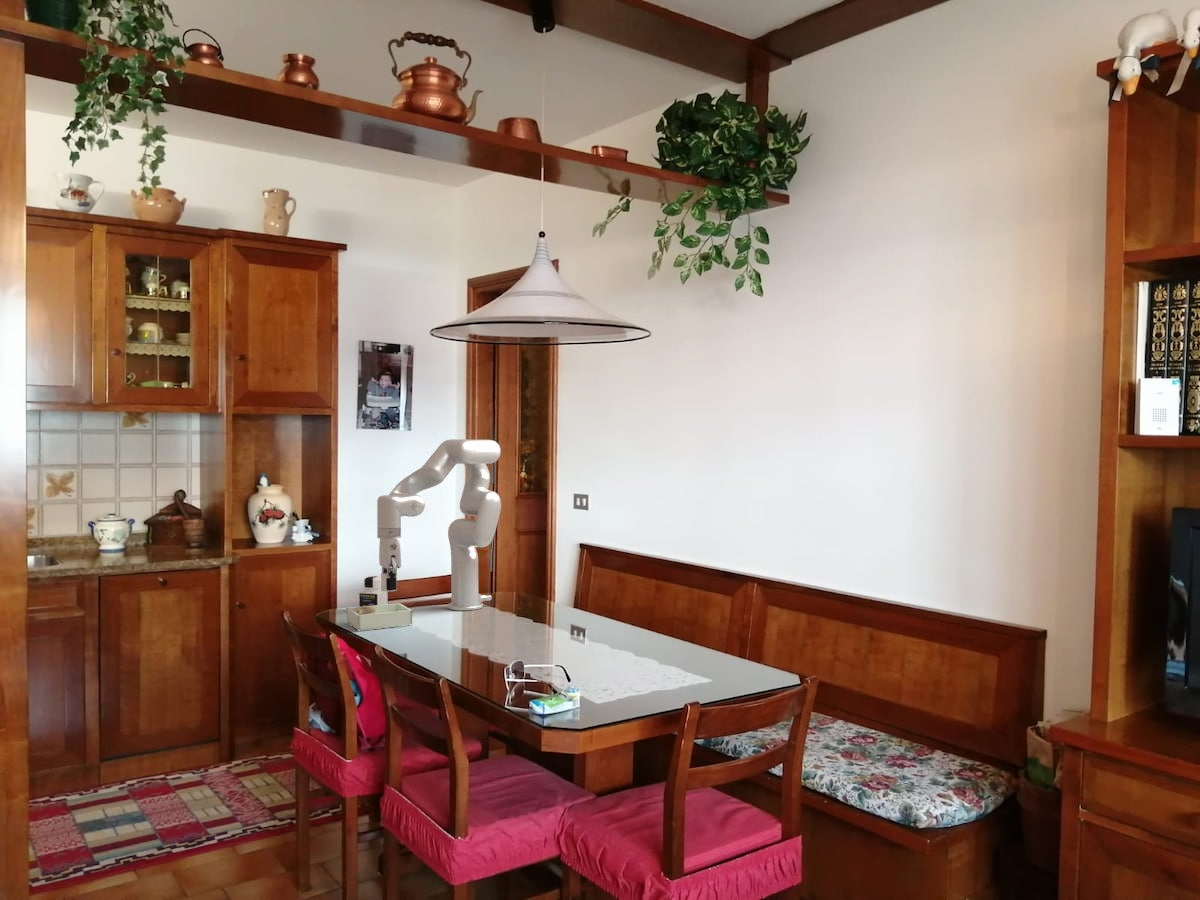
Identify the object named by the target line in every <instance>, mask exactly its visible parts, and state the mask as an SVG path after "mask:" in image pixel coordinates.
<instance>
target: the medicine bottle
mask: <svg viewBox="0 0 1200 900" xmlns="http://www.w3.org/2000/svg"><path fill="white" fill-rule="evenodd" d="M363 584H364V590H363V591H359V593H358V594H359V595H358V596H359V598H358V599H359V600H358V601H359V603H358V604H359V607H363V606H373V605H384V604H389V603H388V592H385V591H381V576H373V575H371V576H367V577H365V578H364V583H363Z"/></svg>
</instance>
